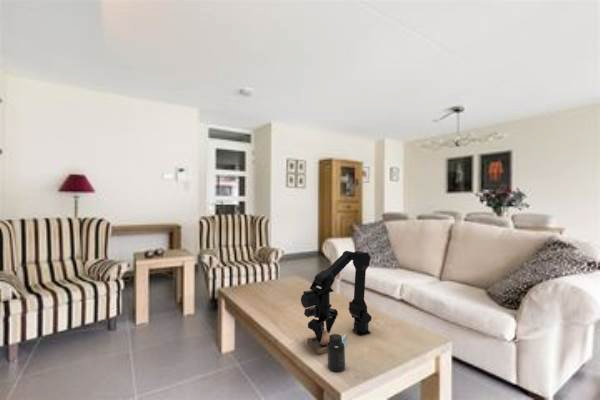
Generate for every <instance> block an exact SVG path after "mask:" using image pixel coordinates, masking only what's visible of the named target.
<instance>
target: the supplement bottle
mask: <svg viewBox="0 0 600 400" xmlns="http://www.w3.org/2000/svg"><path fill="white" fill-rule="evenodd" d="M342 337H343V336H342V335H341V334H340V333H339V334H338V333H332V334H330V340H329V341H330V342H329V343H328V345H327V353H326V355H327V367H328V369H329V370H330V371H331V372H334V373H339V372H342V371H344V370H345V368H346V352H345V351H346V349H345V347H346V346H344V344H343V343H342Z"/></svg>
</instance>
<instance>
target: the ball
mask: <svg viewBox="0 0 600 400" xmlns="http://www.w3.org/2000/svg"><path fill="white" fill-rule="evenodd" d="M330 335H331V333H328V332H327V330H324V332H323V335H322V339H321V342H319V343H320V344H321V345H328V343H329V342H330V341H329V340H330Z"/></svg>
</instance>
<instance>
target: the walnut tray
mask: <svg viewBox="0 0 600 400" xmlns="http://www.w3.org/2000/svg"><path fill="white" fill-rule="evenodd" d="M307 344H308V345H309V346H310V348H311V349H313V350H314V353H316V354H317V356H320V355H324V354H327V345H321V344H320V343H319V342H318V341H317V338H316V336H313V337H307Z"/></svg>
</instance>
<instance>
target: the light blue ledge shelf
mask: <svg viewBox="0 0 600 400" xmlns="http://www.w3.org/2000/svg"><path fill="white" fill-rule="evenodd" d="M342 343H343V344H344V346H345V347H346V346H347V345H348V343H349V342H348V341H347V334H343V336H342Z"/></svg>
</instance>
